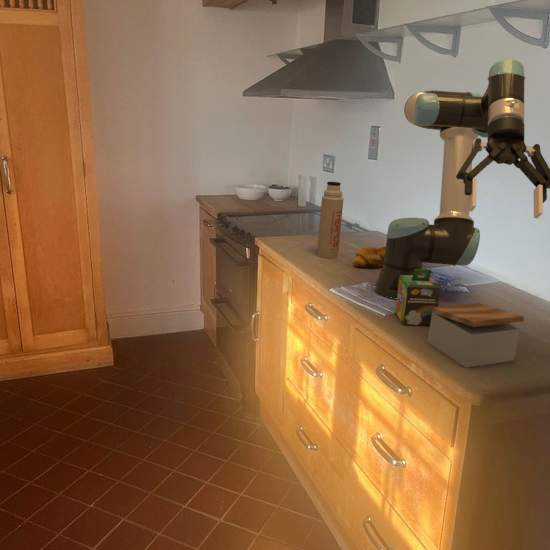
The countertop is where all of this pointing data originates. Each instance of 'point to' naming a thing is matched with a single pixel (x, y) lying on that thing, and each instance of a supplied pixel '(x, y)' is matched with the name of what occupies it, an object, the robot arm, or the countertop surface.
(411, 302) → the chalk box
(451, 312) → the walnut lid
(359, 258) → the bread roll
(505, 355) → the grey crate
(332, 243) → the thermos bottle
